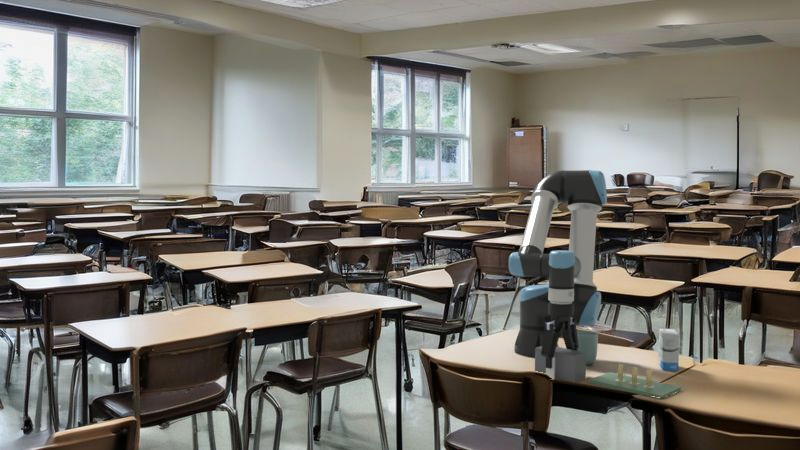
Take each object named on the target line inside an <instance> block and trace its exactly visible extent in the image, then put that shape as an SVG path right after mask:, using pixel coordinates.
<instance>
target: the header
mask: <svg viewBox="0 0 800 450" xmlns="http://www.w3.org/2000/svg"><path fill="white" fill-rule="evenodd" d="M652 378H653V370H651V369H647V370H646V379H645V378H640V377H638V367H637V366H632V368H631V376H629V375H626V374H624V364H622V363H621V364H620V363H619V364H617V373H616V372H612V371H611V372H610V371H609V372H605V373H603V374H601V375H598V376H595V377H592V378H590V379H589V382H588V383H589V384H593V385H597V386H601V387H605V388H606V387H607V388H609V389H614V390H618V391H623V392H626V393H627V392H628V393H633V394H636V395H640V394H642V395H641V396H645V395H648V396H647V397H649V396H655V397H660V398H663V397H666V396H668V395H670V396H672V395H674V394H673V393H675V392H677V391H679V392H681V391H682V386H677V385H674V384H673V385H672V384H667V383H663V382H659V381H654V380H653V379H652ZM680 390H681V391H680ZM677 393H678V392H677ZM671 394H672V395H671ZM675 394H676V393H675ZM668 397H669V396H668ZM666 398H667V397H666Z"/></svg>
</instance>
